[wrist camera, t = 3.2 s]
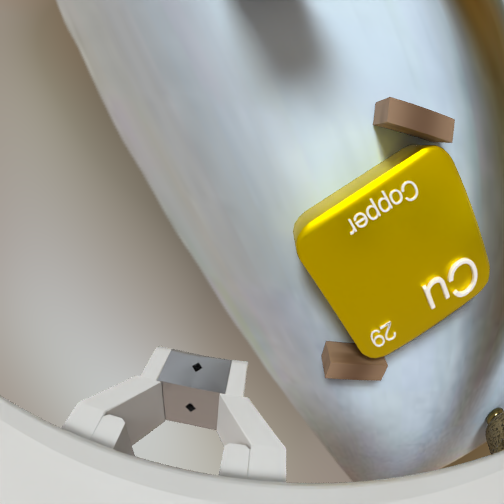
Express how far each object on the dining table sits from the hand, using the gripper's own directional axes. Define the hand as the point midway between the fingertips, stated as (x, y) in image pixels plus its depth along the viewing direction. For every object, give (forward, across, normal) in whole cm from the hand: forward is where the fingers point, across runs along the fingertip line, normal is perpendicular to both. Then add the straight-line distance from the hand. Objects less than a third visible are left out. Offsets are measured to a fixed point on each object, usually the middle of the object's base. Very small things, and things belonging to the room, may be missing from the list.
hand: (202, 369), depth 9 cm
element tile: (+18, -14, 0) cm, 23 cm away
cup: (+18, -45, +25) cm, 55 cm away
